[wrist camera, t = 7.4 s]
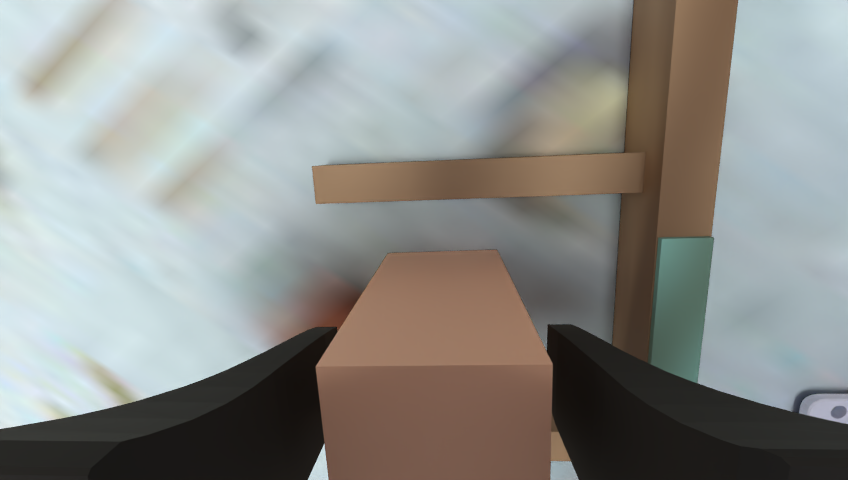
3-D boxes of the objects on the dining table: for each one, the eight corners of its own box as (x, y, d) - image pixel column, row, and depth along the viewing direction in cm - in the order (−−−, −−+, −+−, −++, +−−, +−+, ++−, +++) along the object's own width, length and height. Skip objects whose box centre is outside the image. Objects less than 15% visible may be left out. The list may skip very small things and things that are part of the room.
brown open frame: (701, -197, 11) (779, -308, 8) (629, 622, 17) (661, 706, 15) (297, -155, 12) (253, -243, 9) (367, 611, 18) (353, 688, 16)
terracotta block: (496, 249, 14) (552, 364, 6) (498, 350, 15) (548, 559, 7) (387, 252, 15) (315, 366, 7) (394, 351, 15) (337, 554, 8)
